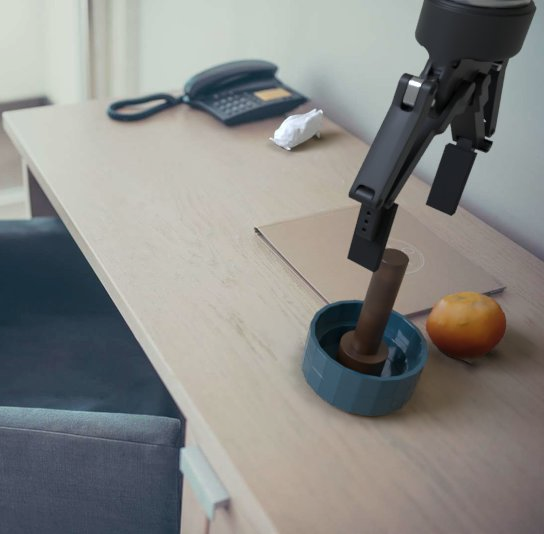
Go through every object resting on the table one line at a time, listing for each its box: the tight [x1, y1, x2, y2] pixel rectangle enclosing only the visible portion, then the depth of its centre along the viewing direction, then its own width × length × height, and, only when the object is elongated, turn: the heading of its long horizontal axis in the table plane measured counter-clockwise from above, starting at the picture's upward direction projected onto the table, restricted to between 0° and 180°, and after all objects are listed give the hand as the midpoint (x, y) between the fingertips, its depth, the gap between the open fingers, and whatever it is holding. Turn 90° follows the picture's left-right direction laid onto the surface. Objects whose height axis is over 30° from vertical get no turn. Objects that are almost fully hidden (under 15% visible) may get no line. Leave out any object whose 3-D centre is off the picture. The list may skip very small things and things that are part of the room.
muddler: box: [335, 247, 410, 377], centre depth 66 cm, size 5×5×16 cm
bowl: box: [301, 299, 430, 417], centre depth 69 cm, size 12×12×6 cm
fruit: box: [425, 291, 507, 365], centre depth 74 cm, size 8×8×8 cm
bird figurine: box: [269, 108, 324, 151], centre depth 114 cm, size 5×7×10 cm
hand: (403, 235), depth 59 cm, fingers open, 13 cm apart
